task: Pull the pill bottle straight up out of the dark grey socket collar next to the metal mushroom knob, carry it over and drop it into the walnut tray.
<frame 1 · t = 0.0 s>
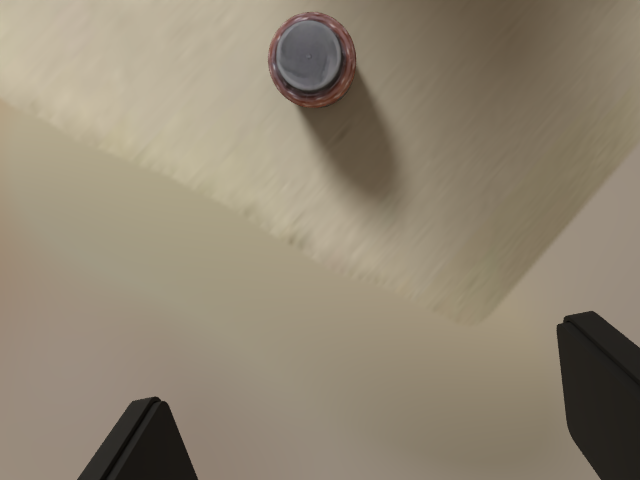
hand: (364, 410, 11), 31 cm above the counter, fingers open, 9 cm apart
supplement bottle: (318, 70, 38), on the counter
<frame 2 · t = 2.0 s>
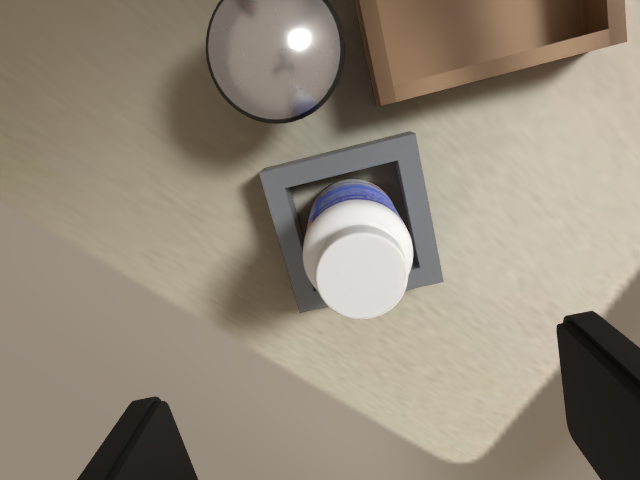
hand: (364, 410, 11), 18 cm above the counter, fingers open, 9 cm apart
pill bottle: (352, 219, 28), resting in socket collar
socket collar: (352, 220, 28), on the counter
metal mushroom knob: (287, 61, 26), on the counter
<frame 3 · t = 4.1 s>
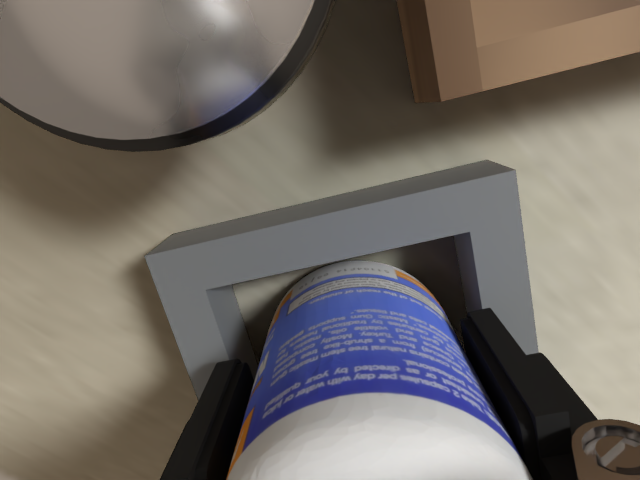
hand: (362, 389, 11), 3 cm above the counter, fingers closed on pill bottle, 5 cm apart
pill bottle: (358, 336, 14), resting in socket collar, touching gripper
socket collar: (359, 339, 14), on the counter
metal mushroom knob: (213, 0, 11), on the counter
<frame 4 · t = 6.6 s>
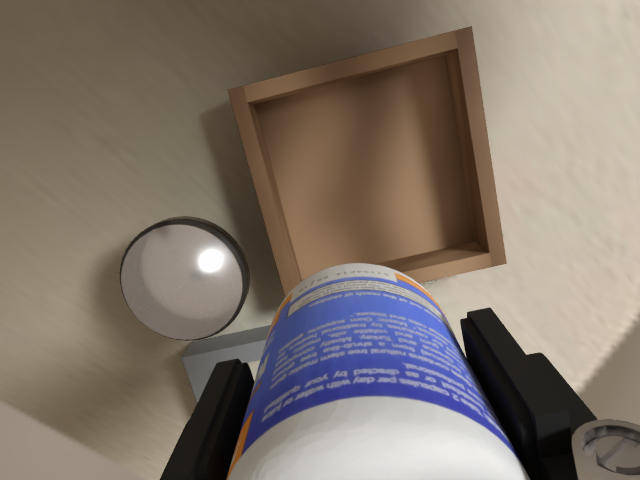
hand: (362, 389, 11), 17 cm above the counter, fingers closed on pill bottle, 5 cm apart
tray: (367, 174, 26), on the counter
pill bottle: (358, 338, 14), point 14 cm above the counter, touching gripper
socket collar: (275, 388, 30), on the counter
metal mushroom knob: (210, 253, 28), on the counter
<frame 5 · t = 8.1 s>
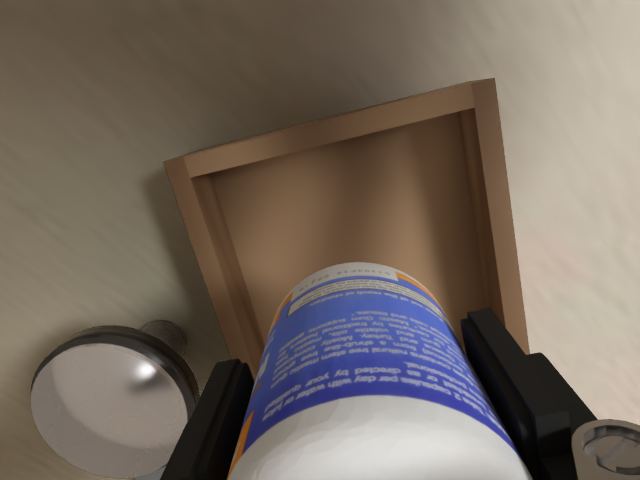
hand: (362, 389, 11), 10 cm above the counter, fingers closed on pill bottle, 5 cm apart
tray: (356, 251, 21), on the counter
pill bottle: (359, 338, 14), point 7 cm above the counter, touching gripper
metal mushroom knob: (162, 341, 23), on the counter
when the fingers open (5 cm above the counter, at t = 9.3 s): pill bottle drops 2 cm, resting on tray.
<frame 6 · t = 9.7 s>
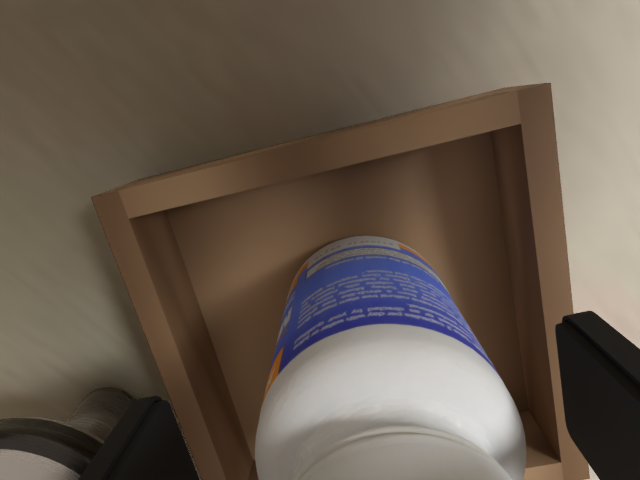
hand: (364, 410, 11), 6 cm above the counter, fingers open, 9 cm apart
tray: (355, 304, 16), on the counter
pill bottle: (365, 304, 16), resting on tray
metal mushroom knob: (111, 413, 18), on the counter
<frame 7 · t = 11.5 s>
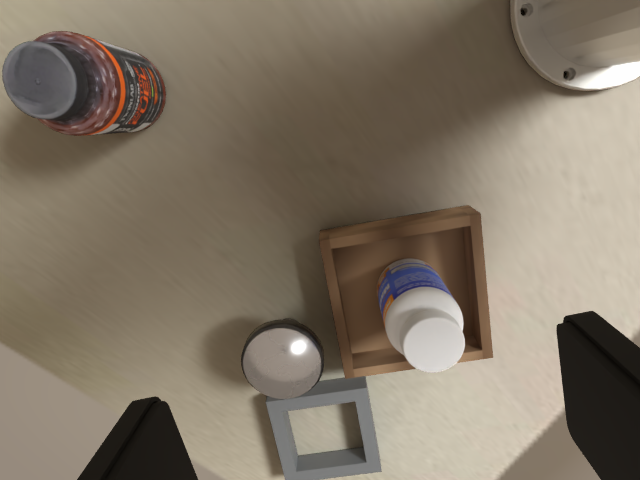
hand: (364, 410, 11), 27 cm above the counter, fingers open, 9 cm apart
tray: (402, 286, 38), on the counter
pill bottle: (407, 286, 38), resting on tray
socket collar: (325, 422, 42), on the counter
supplement bottle: (131, 91, 35), on the counter
metal mushroom knob: (288, 330, 40), on the counter
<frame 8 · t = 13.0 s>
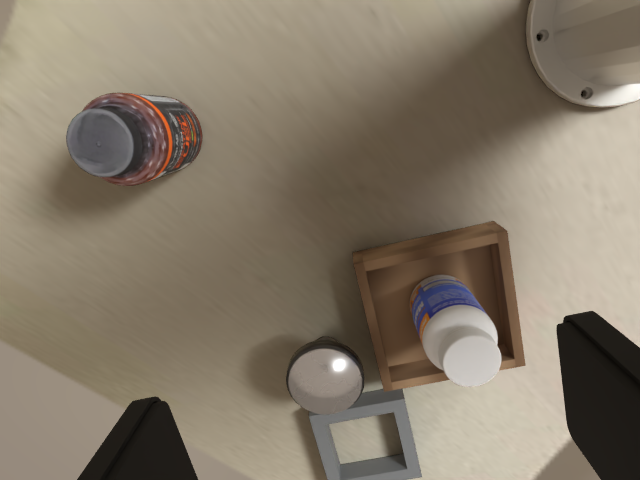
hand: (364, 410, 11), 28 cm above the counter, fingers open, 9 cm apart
tray: (434, 300, 40), on the counter
pill bottle: (439, 300, 40), resting on tray
socket collar: (365, 432, 44), on the counter
supplement bottle: (169, 133, 37), on the counter
metal mushroom knob: (326, 347, 42), on the counter
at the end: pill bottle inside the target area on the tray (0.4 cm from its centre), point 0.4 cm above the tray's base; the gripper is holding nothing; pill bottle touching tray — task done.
